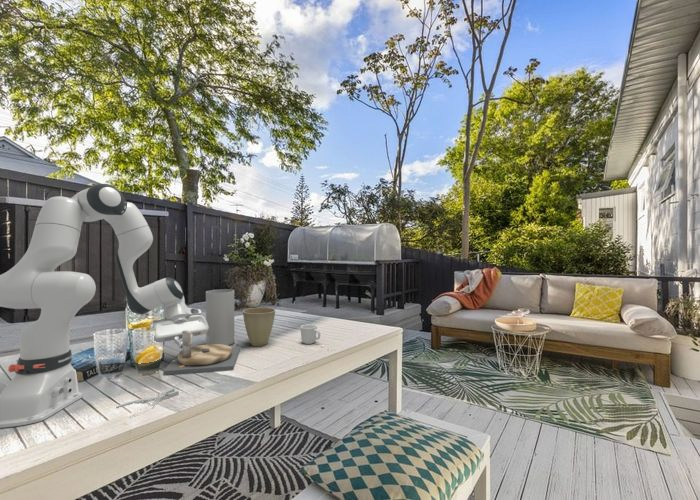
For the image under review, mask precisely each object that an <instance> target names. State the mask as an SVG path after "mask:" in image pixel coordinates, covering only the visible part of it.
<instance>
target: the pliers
mask: <svg viewBox="0 0 700 500" xmlns="http://www.w3.org/2000/svg"><path fill="white" fill-rule="evenodd" d="M175 389H176V388H173V387H172V388H170V389H168V390H164V391H162V392H160V393H158V396H154V397H153V396H152V397H146V398H145V397H144V398H140V399H135V400H132V401H128V402H125V403H122V404H119V405H117V406H116V409H119V407H120V408H122V406H123V407H125V406H130V405H134V404H139V403H142V404H146V405H148V404H150V403H151V402H152V401H154V402H153V403H151V404H150V405H148V406H151V405H152V406H153V407H154V406H155V405H157V404H159V402H160V403H161V402H162V400H163V399H164V400H168V399H170V398H173V397H176V396H179V393H180V391H179V390H175ZM155 399H156V400H155ZM148 400H152V401H148ZM164 400H163V401H164ZM142 401H145V402H148V403H145V402H142ZM133 403H134V404H133ZM157 406H158V405H157ZM155 407H156V406H155ZM155 407H154V408H155ZM136 413H137V412H135V413H133V414H134V415H135V414H136Z"/></svg>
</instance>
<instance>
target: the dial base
mask: <svg viewBox="0 0 700 500" xmlns="http://www.w3.org/2000/svg"><path fill="white" fill-rule="evenodd" d="M230 347H231V348H232V355H231V356H230V357H229V358H228V359H226V360H223V361H220V362H217V363H212V364H207V365H184V364H181V363H179V362H178V354H177V355H176V356H175V357H174V358H173V360H171V361H170V363H169V364H168V365H167V366H166V367H165V369H164V370H163V371H162V372H163V373H162V374H163V376H170V375H183V374H194V373H195V374H197V373H210V372H219V371H220V372H223V371H233V370H234V369H235V366H236V363H237V361H238V358H239V354H240V352H241V351H240V350H241V346H230ZM181 351H182V350H180V352H181Z"/></svg>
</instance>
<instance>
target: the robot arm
mask: <svg viewBox="0 0 700 500" xmlns="http://www.w3.org/2000/svg"><path fill="white" fill-rule="evenodd" d="M100 220H101V221H102V220H104V221H106V222H107V223H108V224H109V225H110V226H111V227H112V229H113V231H114V233H115V235H116V238H117V241H118V249H117V250H116V252H115V262H116V266H117V269H118V272H119V276H120V279H121V283H122V286H123V289H124V292H125V293H124V294H125V299H126V303H127V307H128V309H129V310H130V312H132V313H134V314H137V315H143V316H144V315H145V314H147V313H149V312H151V311H153V310H154V309H157V308H160V307H162V308H163V316H164V318H162V319H154V320H152V321H151V322H150V323H149V324H148V326H149V329H150V328H152V327H153V328H154V329H156V334H155V336H154V341H156V342H159V343H165V342H171V341H173V342H174V343H175V345H177V346H178V349H182V341H180V339H182V331H185V330H191V340H192V338H193V337H197V336H202V335H206V333H207V331H208V329H209V326H208V323H207V321H206V316H204V315H202V310H201V309H199V308H192V307H188V306H187V304H186V300H185V295H184V291H183V288H182V286H181V284H180V282H178V280H176V279H174V278H172V277H165V278H161V279H159V280H156V281H154V282H151V283H149V284H147V285H144V286H142V287H139V286H138V282H137V279H136V276H135V272H134V268H133V267H134V264H135V262H136V261H137V259H138V258H140V257H141V256H142V255H143V254H144V253H146V252H147V251H148V250H149V249H150V248H151V245H153V241H154V236H153V233H152V231H151V228H150V226H149V224H148V221H147V220H146V219H145V217H144V215H143V214H142V212H141V211H140V209H139V208H138V206H136V204H135V203H132V202H130V201H127V199H126V198H125V197H124V195H123V194H122V192H121V191H120V190H119V189H118V188H117V187H115V186H114V185H112V184H109V183H97V184H94V185H92V186H90V187H88V188H87V187H86V188H85V189H82V190H80V191H79V192H77V193H76V194H74V195H72V196H71V197H66V196H61V195H60V196H59V195H58V196H51V197H50V198H48V199H46V201H45V202H44V204H43V205H42V207H41V209H40V211H39V213H38V216H37V218H36V221H35V225H34V229H33V232H32V237H31V239H30V242H29V245H28V248H27V250H26V252H25V253H24V254H23V256H22V257H21V258H20V259H19V261H18V262H17V263H16V264H15V265H14V266H13V267H11V268H10V269H8V270H7V271H6V272H3V273H1V274H0V307H1V308H6V309H14V310H15V309H16V310H23V309H24V310H26V309H30V310H31V309H32V310H33V309H40V314H39V318H38V319H37V320H35V321H32V322H31V323H29V324H27V325H26V326H25V327H23V328H22V330H21V332H20V333H19V358H18V359H17V362H16V364H13V363H12V364H10V365H9V366H8V368H7V371H8V372H9V373H13V372H15V374H14V376H13V377H12V379H11V380H10V381H9V382H8V384H7V385H6V386H5V387H4V389H3V390H2V392H1V393H0V429H2V428H12V427H19V426H26V425H30V424H35V423H39V422H42V421H44V420H46V419H48V418H49V417H51V416H53V415H55V414H56V413H58V412H60V411H61V410H63V409H65V408H66V407H68V406H70V405H71V404H73V403H76V402H77V401H79V399H82V398H83V397H84V394H83V392H81V391H79V383H78V376H77V371H76V369H75V368H74V367H73V365H72V364H71V362H72V360H73V359H72V358H73V354H72V349H71V348H70V339H71V338H70V336H71V325H72V323H73V320H74V318H75V316H76V314H77V313H78V312H79V311H80V310H81V309H82V308H83V307H84V306H86V305H87V304H89V302H91V300H93V299H94V296H95V294H96V290H97V287H96V286H97V285H96V282H95V280H94V278H93V277H92V276H91V275H89V274H88V273H83V272H78V271H77V272H76V271H69V270H68V271H65V270H64V271H63V270H61V271H57V270H56V269H57V268H58V267H59V266H61V264H63V263H65V262H68V261H70V260H72V259H73V258H74V257H75V255H76V254H77V251H78V247H79V242H80V236H81V231H82V226H83V224H91V223H92V224H93V223H95V222H97V221H100ZM55 270H56V271H55ZM159 343H158V344H159ZM192 344H193V343H192V342H191V346H192Z"/></svg>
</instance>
